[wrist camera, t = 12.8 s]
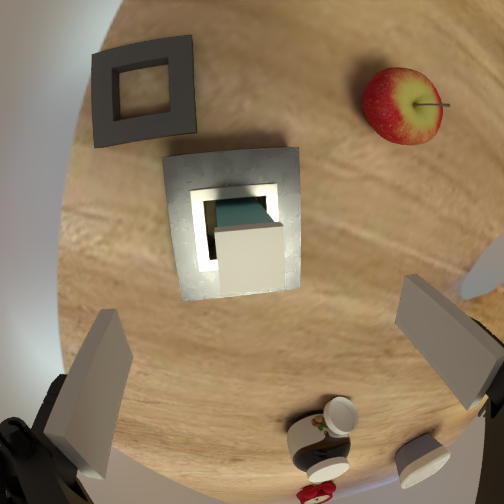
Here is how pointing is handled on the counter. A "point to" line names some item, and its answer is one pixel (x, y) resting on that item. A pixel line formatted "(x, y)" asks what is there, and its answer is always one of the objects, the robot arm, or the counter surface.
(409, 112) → the apple
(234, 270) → the plug
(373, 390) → the counter surface
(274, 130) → the counter surface
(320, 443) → the spread jar
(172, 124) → the dark grey square frame
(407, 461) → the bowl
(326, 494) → the alarm clock
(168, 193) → the port
